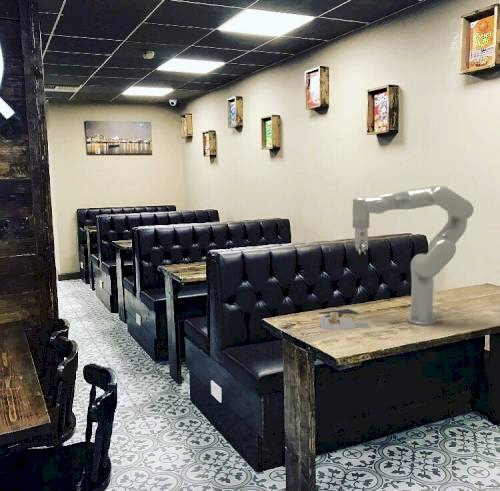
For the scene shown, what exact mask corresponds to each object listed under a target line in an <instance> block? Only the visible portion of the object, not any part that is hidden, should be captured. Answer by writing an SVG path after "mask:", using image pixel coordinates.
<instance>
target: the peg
mask: <svg viewBox="0 0 500 491" xmlns="http://www.w3.org/2000/svg"><path fill="white" fill-rule="evenodd" d="M330 322H338V313H337V312H331V313H330Z"/></svg>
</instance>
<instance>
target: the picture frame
mask: <svg viewBox="0 0 500 491" xmlns="http://www.w3.org/2000/svg"><path fill="white" fill-rule="evenodd" d="M331 312H337V313H338V317H343V315H364V313H363V312H360V311H359V310H356V309H353V308H350V307H346V308H337V309H331V310H330V309H329V310H323V311H322V310H321V311H313V313H312V314H313V316H316V315H324V316H323V317H330V313H331Z"/></svg>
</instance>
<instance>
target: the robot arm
mask: <svg viewBox="0 0 500 491" xmlns="http://www.w3.org/2000/svg"><path fill="white" fill-rule="evenodd" d="M432 206H439V207H440V208H441V209H443V210H445V211H446V214H447V221H446V223H445V225H444V226H443V227H442V228H441V230H440V231H439V232H438V233H437V234H436V235H435V236H434V237H433V238H432V239H431V240H430V242H429V243H428V245H427V246H428V247H427V248H428V252H427V253H417V254H416V255H414V257H413V258H412V259H411V261H410V273H411V276H410V277H411V278H410V279H411V287H410V288H411V293H410V294H411V296H410V297H411V298H410V316H408V317H407V318H406V320H407V322H408V323H410V324H413V325H418V326H421V325H422V326H430V325H435V324H436V322H437V319H444V317H445V316H444V314H443V313H442V314H441V313H435V312H433V311H434V310H433V308H434V277H436V275H438V274H439V273H440V272H441V271H442V270H443V269H444V267H446V265H447V264H448V263H449V262H450V261H451V260H452V259H453V258H454V256H455V254H456V251H457V245H456V243H458V241H459V240H460V239H461V237H462V236H463V235H464V233H465V232H466V229H467V226H468V219H470V218H471V217H472V216H473V213H474V207H473V204H472V203H471V202H470V201H469V200H467V199H466V198H464V197H463V196H461V195H459V194H457V193H456V192H455V191H453V190H452V189H450V188H448V187H447V186H444V185H433V186H427V187H421V188H417V189H416V188H415V189H409V190H404V191H400V192H395V193H390V194H383V195H377V196H373V197H370V198H369V197H354V198H353V199H352V229H354V248H356V249H355V260H356V261H358V264H366V263H367V261H366V260H367V259H366V257H367V254H366V250H367V251H368V249H369V235H368V234H369V232H368V229H369V228H370V214H377V215H379V214H383V213H385V212H386V211H387V212H388V211H393V210H394V211H395V210H414V209H419V208H420V209H421V208H424V207H425V208H426V207H432Z"/></svg>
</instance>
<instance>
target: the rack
mask: <svg viewBox="0 0 500 491" xmlns="http://www.w3.org/2000/svg"><path fill="white" fill-rule="evenodd" d="M319 324H320V329H321V330H354V327H355V329H369V328H370V326H369V324H368V322H353V318H352V317H349V316H348V317H347V316H346V317H344V316H340V317H338V322H330V317H324V316H320V317H319Z"/></svg>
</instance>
